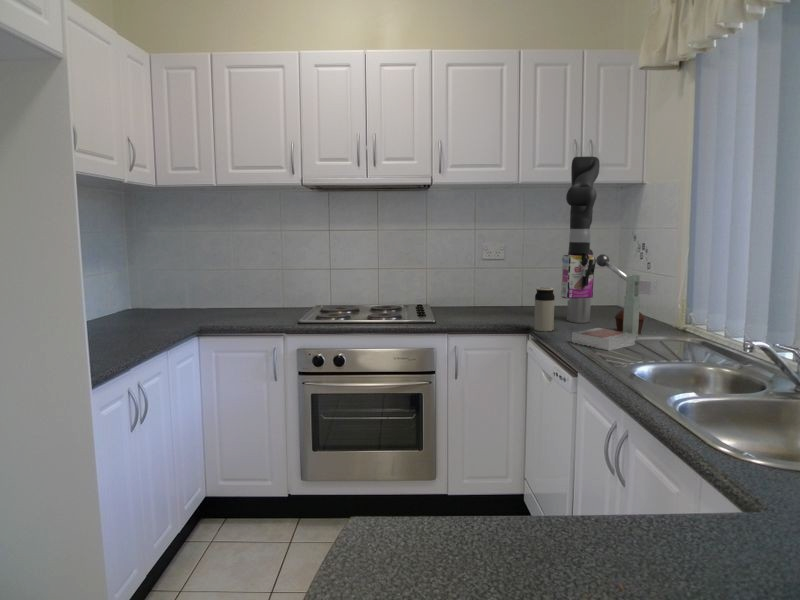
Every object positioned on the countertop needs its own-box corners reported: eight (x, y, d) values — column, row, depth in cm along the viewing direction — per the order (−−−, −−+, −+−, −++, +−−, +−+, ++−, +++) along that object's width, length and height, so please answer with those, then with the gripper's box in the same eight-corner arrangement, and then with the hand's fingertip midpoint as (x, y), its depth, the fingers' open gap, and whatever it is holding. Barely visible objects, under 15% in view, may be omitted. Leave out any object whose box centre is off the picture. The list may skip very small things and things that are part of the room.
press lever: (592, 288, 228) (593, 254, 226) (599, 287, 230) (601, 253, 228) (649, 294, 207) (651, 257, 205) (656, 293, 210) (659, 256, 208)
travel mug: (540, 332, 232) (541, 289, 229) (530, 328, 240) (531, 287, 237) (557, 331, 234) (558, 288, 232) (547, 327, 242) (548, 286, 239)
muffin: (616, 329, 237) (617, 306, 236) (644, 331, 232) (645, 308, 231) (612, 334, 227) (613, 310, 226) (642, 337, 222) (643, 312, 220)
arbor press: (571, 342, 212) (574, 277, 208) (613, 334, 227) (616, 273, 223) (608, 350, 199) (612, 280, 195) (649, 341, 214) (653, 276, 210)
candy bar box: (568, 299, 209) (569, 255, 207) (560, 297, 214) (562, 254, 212) (593, 298, 212) (595, 254, 210) (585, 296, 217) (587, 254, 215)
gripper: (557, 240, 214) (556, 284, 216) (589, 241, 202) (587, 287, 204) (570, 240, 218) (569, 283, 220) (602, 241, 206) (600, 286, 208)
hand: (577, 285), depth 212 cm, fingers closed on candy bar box, 5 cm apart
